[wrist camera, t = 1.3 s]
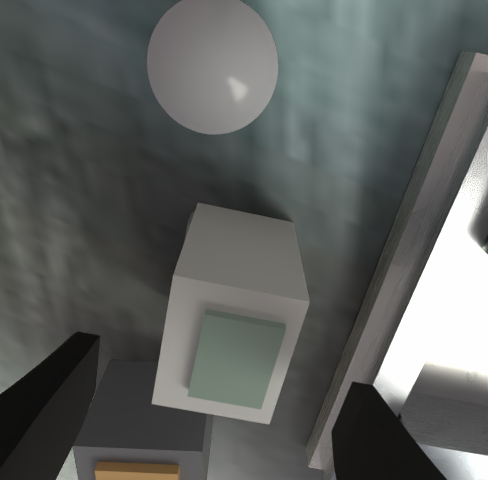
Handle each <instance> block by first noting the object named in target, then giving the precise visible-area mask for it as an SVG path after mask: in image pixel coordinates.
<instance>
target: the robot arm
mask: <svg viewBox="0 0 488 480" xmlns="http://www.w3.org/2000/svg"><path fill="white" fill-rule="evenodd" d="M99 342H100V336H99V335H94V334H88V333H82V332H76V333H75V334H73V335H72V336H71V337H70V338H69V339H68V340H67V341H65V342H64V343H63V344H62V345H61V346H60V347H59V348H58V349H56V350H55V351H54V352H53V353H52V354H51V355H49V356H48V357H47V358H46V359H45V360H44V361H42V362H41V363H40V364H39V365H38V366H36V367H35V368H34V369H33V370H31V371H30V372H29V373H28V374H26V375H25V376H24V377H23V378H21V379H20V380H19V381H18V382H16V383H15V384H14V385H12V386H11V387H9V388H8V389H7V390H5V391H4V392H3V393H1V394H0V480H56V478H57V476H58V474H59V472H60V470H61V468H62V466H63V464H64V462H65V460H66V458H67V456H68V454H69V452H70V450H71V448H72V446H73V444H74V442H75V440H76V438H77V436H78V434H79V432H80V430H81V428H82V425H83V423H84V420H85V417H86V415H87V412H88V409H89V407H90V404H91V401H92V398H93V396H94V393H95V386H96V375H97V364H98V353H99ZM331 435H332V450H333V461H334V470H335V475H336V480H447V479H446V478H445V476H444V475H443V474H442V473H441V472H440V471H439V469H438V468H437V467H436V466H435V465H434V464H433V462H432V461H431V460H430V459H429V458H428V456H427V455H426V454H425V453H424V451H423V450H422V449H421V448H420V446H419V445H418V444H417V443H416V441H415V440H414V439H413V437H412V436H411V435H410V434H409V432H408V431H407V430H406V428H405V427H404V426H403V424H402V423H401V422H400V420H399V419H398V418H397V416H396V415H395V414H394V412H393V411H392V410H391V408H390V407H389V406H388V404H387V403H386V402H385V400H384V399H383V398H382V396H381V395H380V394H379V392H378V391H377V390H376V388H375V387H374V386H373V385H370V384H364V383H359V382H353V381H352V383H351V386H350V388H349V391H348V393H347V395H346V398H345V400H344V402H343V405H342V407H341V410H340V412H339V414H338V417H337V419H336V422H335V424H334V426H333V429H332V431H331Z"/></svg>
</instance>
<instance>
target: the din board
mask: <svg viewBox="0 0 488 480" xmlns="http://www.w3.org/2000/svg"><path fill="white" fill-rule="evenodd" d="M352 381H353V382H359V383H364V384H370V385H373V386H374V387H375V388H376V390H377V391H378V392H379V394H380V395H381V396H382V398H383V399H384V400H385V402H386V403H387V404H388V406H389V407H390V408H391V410H392V411H393V412H394V414H395V415H396V416H397V418H398V419H399V420H400V422H401V423H402V424H403V426H404V427H405V428H406V430H407V431H408V432H409V434H410V435H411V436H412V437H413V439H414V440H415V441H416V443H417V444H418V445H419V446H420V448H421V449H422V450H423V451H424V453H425V454H426V455H427V456H428V458H429V459H430V460H431V461H432V462H433V464H434V465H435V466H436V467H437V468H438V469H439V471H440V472H441V473H442V474H443V475H444V476H445V478H446V479H447V480H488V55H486V54H482V53H477V52H466V51H461V52H460V54H459V57H458V59H457V62H456V64H455V67H454V70H453V72H452V75H451V77H450V80H449V82H448V85H447V87H446V90H445V93H444V95H443V98H442V100H441V103H440V105H439V108H438V110H437V113H436V116H435V118H434V121H433V123H432V126H431V128H430V131H429V134H428V136H427V139H426V141H425V144H424V146H423V149H422V151H421V154H420V157H419V159H418V162H417V164H416V167H415V169H414V172H413V174H412V177H411V180H410V182H409V185H408V187H407V190H406V192H405V195H404V198H403V200H402V203H401V205H400V208H399V210H398V213H397V215H396V218H395V221H394V223H393V226H392V228H391V231H390V233H389V236H388V238H387V241H386V244H385V246H384V249H383V251H382V254H381V256H380V259H379V262H378V264H377V267H376V269H375V272H374V274H373V277H372V279H371V282H370V285H369V287H368V290H367V292H366V295H365V297H364V300H363V302H362V305H361V308H360V310H359V313H358V315H357V318H356V320H355V323H354V326H353V328H352V331H351V333H350V336H349V338H348V341H347V343H346V346H345V349H344V351H343V354H342V356H341V359H340V361H339V364H338V367H337V369H336V372H335V374H334V377H333V379H332V382H331V384H330V387H329V390H328V392H327V395H326V397H325V400H324V402H323V405H322V407H321V410H320V413H319V415H318V418H317V420H316V423H315V425H314V428H313V431H312V433H311V436H310V438H309V441H308V443H307V446H306V452H307V460H308V467H309V468H315V469H321V470H322V475H323V480H336V475H335V470H334V461H333V450H332V435H331V431H332V429H333V426H334V424H335V422H336V419H337V417H338V414H339V412H340V410H341V407H342V405H343V402H344V400H345V398H346V395H347V393H348V391H349V388H350V386H351V383H352Z"/></svg>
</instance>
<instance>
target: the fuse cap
mask: <svg viewBox="0 0 488 480" xmlns="http://www.w3.org/2000/svg"><path fill="white" fill-rule="evenodd" d="M147 71H148V77H149V81H150V85H151V88H152V90H153V92H154V95H155V97H156V99H157V100H158V102H159V104H160V105H161V106H162V108H163V109H164V110H165V111H166V113H167V114H168V115H169V116H170V117H171V118H173V119H174V120H175V121H176V122H178V123H179V124H181V125H183V126H184V127H186V128H188V129H191V130H193V131H196V132H199V133H204V134H226V133H230V132H234V131H236V130H239V129H241V128H243V127H245V126H246V125H248V124H249V123H251V122H252V121H253V120H255V119H256V118H257V117H258V116H259V115H260V114H261V113H262V111H263V110H264V109H265V108H266V106H267V104H268V103H269V101H270V99H271V97H272V95H273V92H274V89H275V86H276V83H277V77H278V55H277V50H276V45H275V43H274V40H273V37H272V35H271V33H270V31H269V29H268V27H267V25H266V24H265V22H264V21H263V20H262V18H261V17H260V16H259V15H258V14H257V13H256V12H255V11H254V10H253V9H252V8H251V7H249V6H248V5H246V4H245V3H243V2H242V1H240V0H182V1H180V2H178V3H177V4H175V5H174V6H173V7H171V8H170V9H169V10H168V11H167V12H166V13H165V14H164V15H163V17H162V18H161V19H160V21H159V22H158V24H157V25H156V27H155V29H154V31H153V33H152V36H151V39H150V42H149V46H148V52H147Z"/></svg>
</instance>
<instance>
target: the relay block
mask: <svg viewBox="0 0 488 480" xmlns="http://www.w3.org/2000/svg"><path fill="white" fill-rule="evenodd" d="M158 363H159V362H144V361H121V360H110V362H109V365H108V367H107V369H106V371H105V374H104V376H103V378H102V380H101V383H100V385H99V387H98V389H97V392H96V394H95V396H94V398H93V401H92V403H91V405H90V408H89V410H88V412H87V415H86V417H85V420H84V423H83V425H82V428H81V430H80V432H79V434H78V436H77V438H76V440H75V442H74V444H73V446H72V447H73V452H74V458H75V463H76V469H77V474H78V479H79V480H207V472H208V462H209V453H210V443H211V434H212V425H213V415H212V414H206V413H201V412H195V411H189V410H183V409H178V408H172V407H166V406H161V405H155V404H152V398H153V392H154V386H155V380H156V375H157V369H158Z"/></svg>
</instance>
